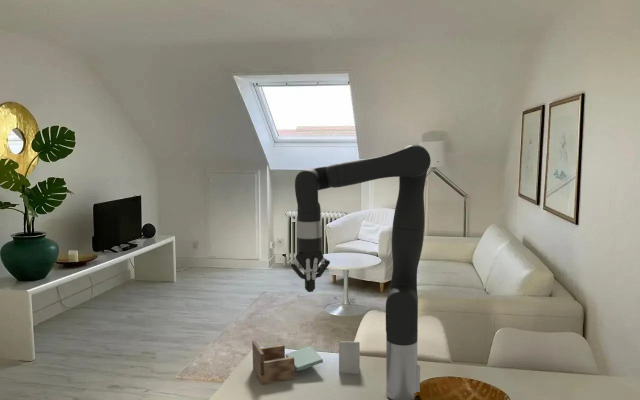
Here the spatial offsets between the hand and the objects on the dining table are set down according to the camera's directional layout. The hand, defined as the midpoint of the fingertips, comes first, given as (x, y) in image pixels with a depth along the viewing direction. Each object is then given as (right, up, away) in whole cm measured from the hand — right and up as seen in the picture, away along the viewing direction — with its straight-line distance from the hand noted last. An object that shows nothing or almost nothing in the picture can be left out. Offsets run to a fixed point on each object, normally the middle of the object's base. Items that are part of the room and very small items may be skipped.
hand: (310, 291), depth 155 cm
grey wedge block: (+13, -30, +15) cm, 36 cm away
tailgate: (-6, -27, +15) cm, 31 cm away
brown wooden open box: (-12, -30, +14) cm, 35 cm away
